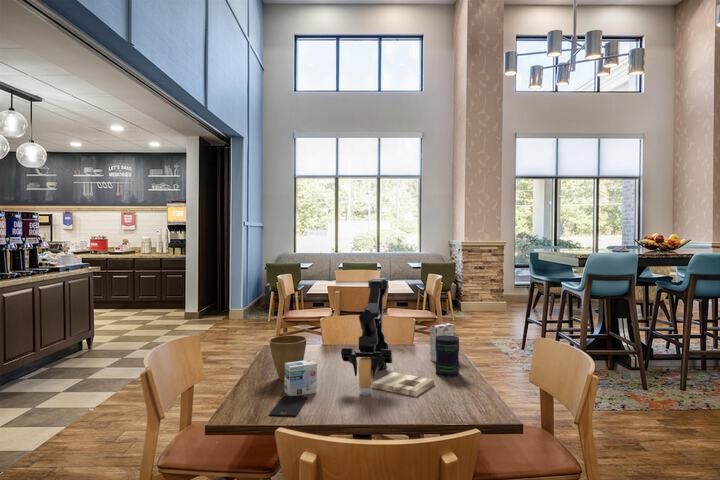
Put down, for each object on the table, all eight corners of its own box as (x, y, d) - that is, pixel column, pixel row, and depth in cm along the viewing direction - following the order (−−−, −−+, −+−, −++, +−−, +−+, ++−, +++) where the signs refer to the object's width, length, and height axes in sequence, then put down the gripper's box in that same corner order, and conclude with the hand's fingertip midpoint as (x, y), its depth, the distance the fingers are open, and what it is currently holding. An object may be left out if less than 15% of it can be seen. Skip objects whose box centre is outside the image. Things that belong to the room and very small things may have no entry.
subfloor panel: (372, 387, 172) (372, 382, 172) (392, 377, 186) (392, 371, 186) (415, 396, 162) (415, 390, 162) (434, 384, 176) (434, 379, 176)
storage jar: (430, 371, 193) (430, 336, 193) (450, 369, 196) (450, 334, 196) (443, 378, 183) (443, 341, 183) (464, 375, 187) (464, 339, 187)
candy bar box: (448, 357, 216) (447, 322, 216) (455, 359, 212) (455, 324, 212) (429, 360, 211) (429, 325, 211) (436, 363, 206) (436, 326, 206)
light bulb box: (289, 397, 162) (289, 367, 162) (283, 391, 168) (283, 362, 168) (317, 392, 167) (317, 363, 167) (311, 387, 173) (310, 359, 173)
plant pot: (285, 371, 194) (285, 333, 194) (314, 376, 187) (313, 337, 187) (261, 380, 181) (261, 340, 181) (291, 386, 174) (290, 344, 174)
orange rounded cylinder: (356, 394, 165) (356, 359, 165) (363, 390, 169) (363, 357, 169) (367, 396, 163) (366, 361, 163) (373, 393, 166) (373, 358, 166)
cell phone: (268, 417, 145) (268, 414, 145) (283, 397, 163) (283, 395, 163) (296, 418, 144) (295, 415, 144) (308, 398, 162) (308, 395, 162)
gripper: (341, 326, 171) (335, 363, 160) (391, 327, 168) (388, 365, 157) (346, 342, 179) (340, 379, 168) (393, 344, 176) (390, 381, 165)
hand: (364, 376), depth 164 cm, fingers open, 6 cm apart
